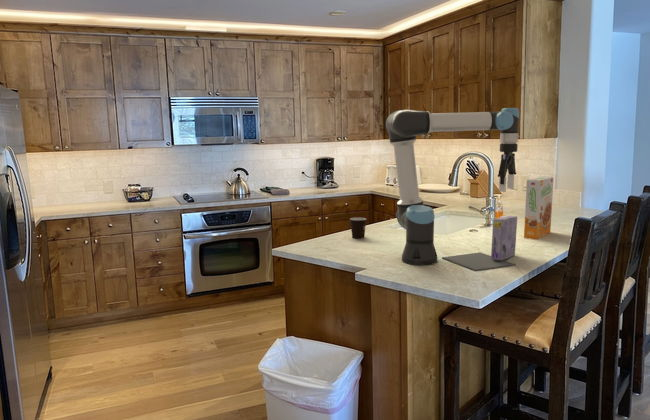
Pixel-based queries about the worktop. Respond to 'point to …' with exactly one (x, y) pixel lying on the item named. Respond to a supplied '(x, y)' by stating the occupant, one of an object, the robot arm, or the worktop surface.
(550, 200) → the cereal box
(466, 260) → the mat
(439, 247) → the worktop surface
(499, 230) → the cake pan box
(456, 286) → the worktop surface
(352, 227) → the coffee mug
